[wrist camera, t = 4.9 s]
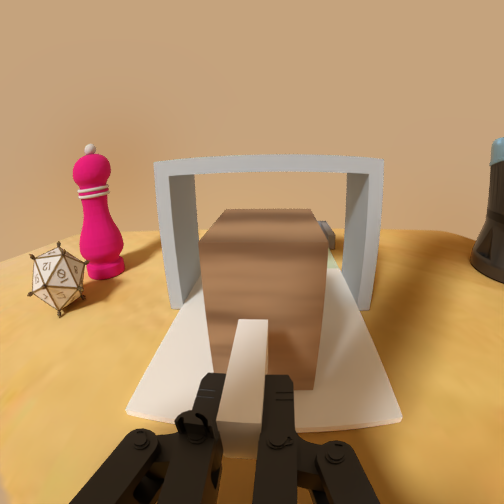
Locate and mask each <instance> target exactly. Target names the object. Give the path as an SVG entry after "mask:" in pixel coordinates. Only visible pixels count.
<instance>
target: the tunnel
mask: <svg viewBox="0 0 504 504" xmlns="http://www.w3.org/2000/svg"><path fill="white" fill-rule="evenodd" d="M262 171H306V172H307V171H310V172H342V173H347V193H346V195H347V196H346V218H345V235H344V249H343V261H342V272H341V271H340V269H339V268H327V276H326V288H325V299H324V310H323V319H322V328H321V337H320V345H319V353H318V361H317V368H316V375H315V382H314V388H313V390H294V413H295V430H296V432H297V433H301V432H324V431H338V430H349V429H358V428H366V427H374V426H380V425H387V424H393V423H398V422H401V420H402V418H403V416H402V413H401V411H400V408H399V405H398V402H397V400H396V397H395V394H394V392H393V389H392V387H391V384H390V381H389V379H388V376H387V374H386V371H385V369H384V366H383V364H382V362H381V359H380V357H379V354H378V352H377V350H376V347H375V345H374V342H373V340H372V338H371V336H370V333H369V331H368V329H367V326H366V324H365V322H364V320H363V317H362V315H361V313H360V311H362V310H369V309H370V303H371V297H372V291H373V284H374V278H375V271H376V263H377V255H378V246H379V236H380V226H381V213H382V198H383V175H384V173H383V172H384V159H376V158H367V157H355V156H336V155H335V156H334V155H301V154H300V155H299V154H298V155H297V154H279V155H278V154H276V155H274V154H271V155H270V154H269V155H234V156H214V157H199V158H186V159H177V160H169V161H160V162H154V175H155V188H156V199H157V210H158V219H159V228H160V237H161V245H162V252H163V260H164V267H165V274H166V280H167V286H168V292H169V298H170V304H171V309H180V311H179V313H178V314H177V316H176V318H175V320H174V321H173V323H172V325H171V327H170V328H169V330H168V332H167V334H166V335H165V337H164V339H163V341H162V343H161V344H160V346H159V348H158V350H157V351H156V353H155V355H154V357H153V359H152V361H151V362H150V364H149V366H148V368H147V370H146V371H145V373H144V375H143V377H142V379H141V381H140V383H139V384H138V386H137V388H136V390H135V392H134V394H133V396H132V398H131V399H130V401H129V403H128V405H127V407H126V409H125V410H126V412H127V414H128V415H132V416H136V417H141V418H145V419H150V420H155V421H161V422H166V423H172V424H175V422H174V421H175V419H176V417H177V416H178V415H180V414H181V413H182V412H185V411H188V410H192V408H193V404H194V401H195V398H196V395H197V392H198V390H199V385H200V382H201V379H202V378H203V377H204V376H205V375H206V374H207V373H208V372H210V373H214V371H213V364H212V358H211V351H210V343H209V336H208V328H207V321H206V313H205V304H204V296H203V287H202V277H201V268H200V258H199V247H198V242H199V236H198V223H197V210H196V197H195V180H194V174H205V173H227V172H262Z"/></svg>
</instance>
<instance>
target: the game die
mask: <svg viewBox="0 0 504 504" xmlns="http://www.w3.org/2000/svg"><path fill="white" fill-rule="evenodd" d="M60 244H61V243H60V242H59V241H58V243H57V248H55V249H52V250H50V251H48V252H46V253H44V254H42V255H40V256H38V257H36V258H35V257H34V255H33V254H29V255H30V258H32V259H33V260H34V265H33V282H32V292H30V293H28V295H27V296H30V297H31V296H32V295H33V294H34V295H35V296H37V297H38V298H40V299H41V300H43V301H44V302H46V303H47V304H49V305H50V306H52V307H53V308H55V309H56V310H58V314H57V315H58V316H59V318H60V316H61V312H60V311H61V310H62V309H63V308H65V307H66V306H68V305H69V304H71V303H72V302H74V301H75V300H76V299H78V298H79V297H81V298H82V299H86V298H85V296H84V295H82V291H84V290H83V277H84V268H85V265H86V264H89V262H90V260H86V261H85V262H82V261H80V260H79V259H77V258H76V257H74V256H73V255H71V254H70V253H68V252H66V251H65V249H64V250H63V249H62V248H60Z"/></svg>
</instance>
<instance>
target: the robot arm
mask: <svg viewBox="0 0 504 504" xmlns="http://www.w3.org/2000/svg"><path fill="white" fill-rule="evenodd" d="M490 166H491V172H490V173H491V174H490V188H489V198H488V207H487V215H486V221H485V224H484V225H483V228H482V230H481V232H480V234H479V236H478V238H477V240H476V242H475V244H474V246H473V249H472V254H471V259H470V261H471V264H472V265H473V266H474V267H475V268H476V269H477V270H478V271H480V272H481V273H483V274H485V275H487V276H488V277H490V278H493V279H495V280H497V281H500V282H503V283H504V137H503V138H498V139H496V140H495V141H494V142H493V144H492V149H491V162H490ZM267 370H268V320H262V319H239V320H238V324H237V329H236V333H235V338H234V342H233V347H232V351H231V356H230V360H229V365H228V369H227V374H225V373H210V372H208V373H207V374H206V375H205V376H204V377H203V378H202V379H201V382H200V385H199V390H198V392H197V395H196V398H195V401H194V404H193V408H192V410H188V411H185V412H182V413H181V414H180V415H178V416H177V417H176V419H175V421H174V422H175V425H176V427H177V430H178V432H176V433H173V434H167V435H155V433H153V432H152V431H150V430H147V429H136V430H133V431H131V432H130V433H128V434H127V435H126V436H125V438H124V439H123V440H122V441H121V442H120V444H119V445H118V446H117V447H116V449H115V450H114V451H113V452H112V453H111V455H110V456H109V457H108V458H107V459H106V461H105V462H104V463H103V464H102V465H101V466H100V468H99V469H98V470H97V471H96V472H95V474H94V475H93V476H92V477H91V478H90V480H89V481H88V482H87V483H86V484H85V485H84V487H83V488H82V489H81V490H80V491H79V492H78V494H77V495H76V496H75V497H74V498H73V499H72V501H71V502H70V503H69V504H156V502H157V501H158V502H157V504H216V501H217V496H218V490H219V485H220V479H221V473H222V463H221V461H222V455H224V457H227V458H240V459H257V461H256V472H255V482H254V491H253V501H252V504H297V486H298V487H302V488H306V489H309V492H310V495H311V498H312V501H313V504H380V502H379V500H378V498H377V496H376V494H375V492H374V490H373V488H372V486H371V484H370V482H369V480H368V478H367V476H366V474H365V472H364V470H363V468H362V466H361V464H360V462H359V460H358V458H357V456H356V454H355V452H354V450H353V449H352V447H351V446H350V445H349V444H347V443H345V442H342V441H329V442H327V443H325V444H323V445H318V444H314V443H310V442H307V441H305V440H303V439H301V438H300V437H299V436H298V434H297V432H296V430H295V413H294V386H293V381H292V380H291V378H290V377H289V375H268V374H267Z"/></svg>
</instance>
